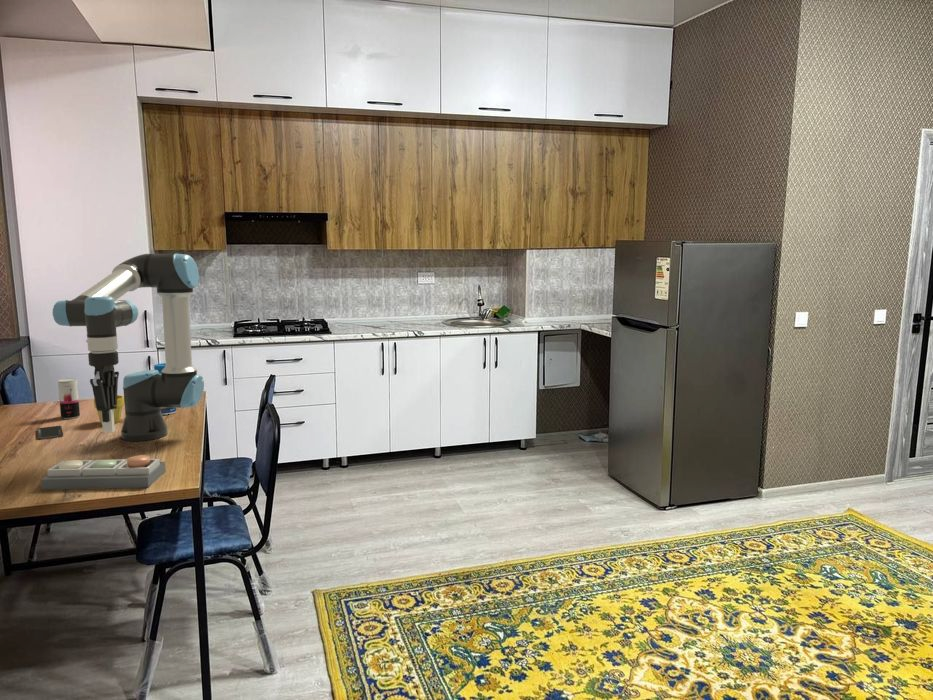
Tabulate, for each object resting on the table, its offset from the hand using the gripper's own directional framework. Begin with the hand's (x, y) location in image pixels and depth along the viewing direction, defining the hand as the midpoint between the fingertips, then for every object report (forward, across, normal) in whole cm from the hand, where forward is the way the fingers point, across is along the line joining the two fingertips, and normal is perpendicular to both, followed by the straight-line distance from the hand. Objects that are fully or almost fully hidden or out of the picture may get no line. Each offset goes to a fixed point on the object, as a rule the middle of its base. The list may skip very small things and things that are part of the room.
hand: (108, 431), depth 201 cm
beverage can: (+15, -76, -50) cm, 92 cm away
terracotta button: (+10, 0, +8) cm, 12 cm away
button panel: (+15, 0, -2) cm, 15 cm away
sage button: (+11, 0, -2) cm, 11 cm away
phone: (+15, -52, -45) cm, 70 cm away
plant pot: (+15, -67, -30) cm, 75 cm away
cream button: (+11, 0, -11) cm, 16 cm away
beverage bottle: (+15, -82, -15) cm, 84 cm away
